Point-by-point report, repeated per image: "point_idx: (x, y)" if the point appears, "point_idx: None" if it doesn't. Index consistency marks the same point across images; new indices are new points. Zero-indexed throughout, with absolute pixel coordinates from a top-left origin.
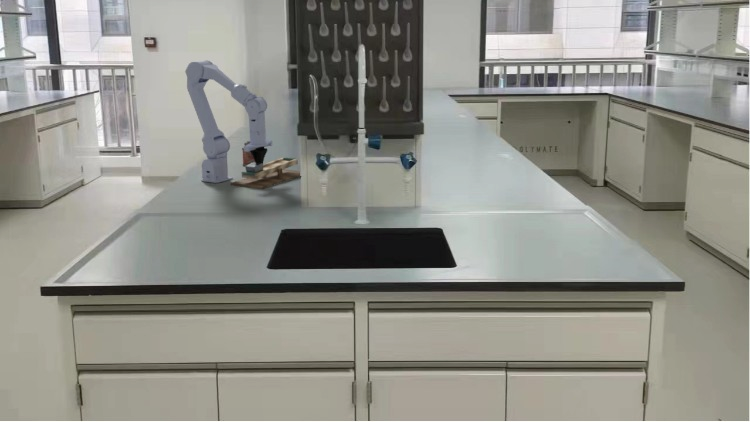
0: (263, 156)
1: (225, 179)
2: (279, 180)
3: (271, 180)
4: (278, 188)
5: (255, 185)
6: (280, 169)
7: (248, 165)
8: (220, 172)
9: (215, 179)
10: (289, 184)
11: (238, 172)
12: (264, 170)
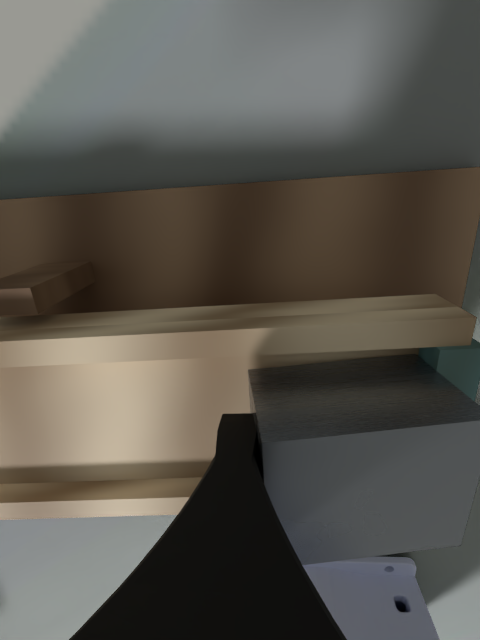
0: (203, 558)
1: (327, 563)
2: (140, 213)
3: (187, 281)
4: (380, 8)
5: (453, 265)
6: (6, 286)
7: (426, 531)
8: (372, 636)
9: (413, 591)
10: (146, 49)
11: (96, 606)
12: (270, 342)
